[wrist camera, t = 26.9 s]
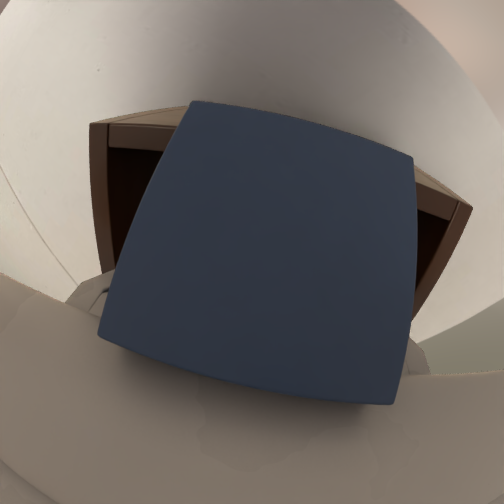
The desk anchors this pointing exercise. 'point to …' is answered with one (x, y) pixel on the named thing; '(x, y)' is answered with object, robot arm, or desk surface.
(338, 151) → the block
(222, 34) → the desk surface
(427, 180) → the compartment
